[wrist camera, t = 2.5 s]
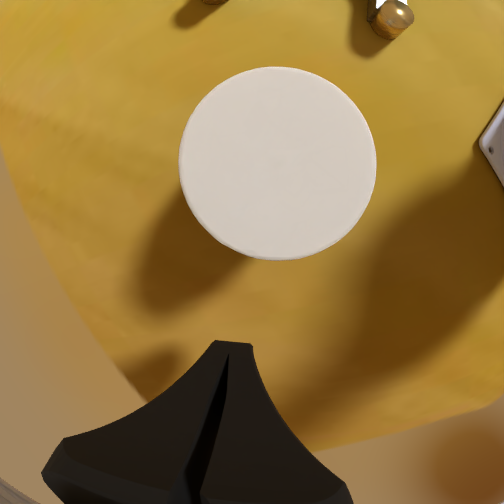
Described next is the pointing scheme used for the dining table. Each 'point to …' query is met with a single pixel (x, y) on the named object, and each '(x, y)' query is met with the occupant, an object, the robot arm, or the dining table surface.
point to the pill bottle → (277, 163)
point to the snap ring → (380, 16)
